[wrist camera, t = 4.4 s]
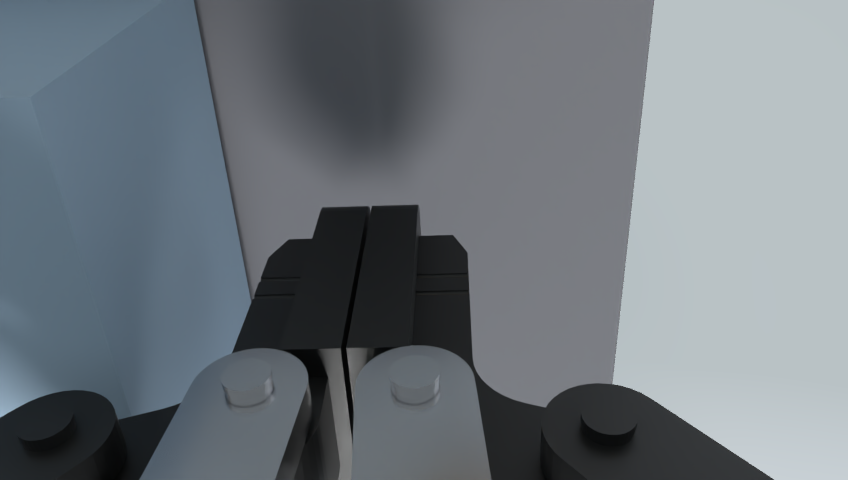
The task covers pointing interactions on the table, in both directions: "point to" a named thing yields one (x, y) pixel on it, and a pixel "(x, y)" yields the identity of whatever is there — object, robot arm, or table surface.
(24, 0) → the blue block with hole
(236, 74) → the mat
